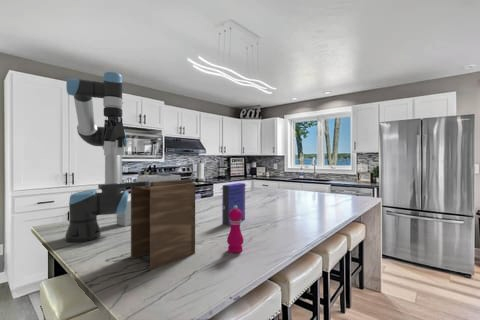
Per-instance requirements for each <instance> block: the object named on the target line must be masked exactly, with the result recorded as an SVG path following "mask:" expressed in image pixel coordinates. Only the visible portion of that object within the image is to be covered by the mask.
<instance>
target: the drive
mask: <svg viewBox="0 0 480 320" xmlns="http://www.w3.org/2000/svg"><path fill="white" fill-rule="evenodd" d="M177 180H182V179H181V175H180V174H171V173H168V172H167V173H166V172H157V173H156V174H145V175H143V174H141V175H137V176H136V181H128V182H122V183H112V184H105V183H102V184H101V183H99V184H98V190H101V191H102V190H103V189H114V188H125V189H126V188H131V187H136V186H149V187H150V186H152V182H165V181H177Z"/></svg>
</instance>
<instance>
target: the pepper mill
mask: <svg viewBox="0 0 480 320" xmlns="http://www.w3.org/2000/svg"><path fill="white" fill-rule="evenodd" d="M237 208H238V207H237V206H236V205H235V206H234V209H232V210H230V212H229V218H230V219H231V220H230V224H231V225H230V230H229V233H228V235H227V241H226V242H227V245H228V247H227V251H228V252H229V253H232V254H238V253H239V254H240V253H241V252H243V246H242V245H243V244H244V236H243V233H242V231H241V224H242V221H241V220H240V219H241V218H242V212H241V210H239V209H237Z"/></svg>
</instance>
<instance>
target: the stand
mask: <svg viewBox="0 0 480 320" xmlns="http://www.w3.org/2000/svg"><path fill="white" fill-rule="evenodd" d="M130 198H131V225H130V257H131V258H132V257H135V256H139V255H141V254H146V253H149V268H150V269H152V270H153V269H155V268H158V267H161V266H163V265H166V264H168V263H169V264H170V263H171V262H174V261H177V260H180V259H183V258H186V257H189V256H191V255H193V254H196V182H195V183H194V182H193V179H192V178H191V179H181V180H177V181H165V182H152V186H150V187H149V186H136V187H130Z"/></svg>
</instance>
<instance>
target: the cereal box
mask: <svg viewBox="0 0 480 320" xmlns="http://www.w3.org/2000/svg"><path fill="white" fill-rule="evenodd" d="M221 198H222V204H221V206H222V219H221V221H222V223H221V224H222V225H224V226H231V224H230V220H231V219H230V218H229V212H230V210H232V209H234V206H235V205H236V206H237V207H238V208H237V209H239V210H241V212H242V218H241V219H240V220H241V222H242V221H245V220H246V183H244V182H236V183H230V184H228V183H227V184H224V185H222V197H221Z"/></svg>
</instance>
